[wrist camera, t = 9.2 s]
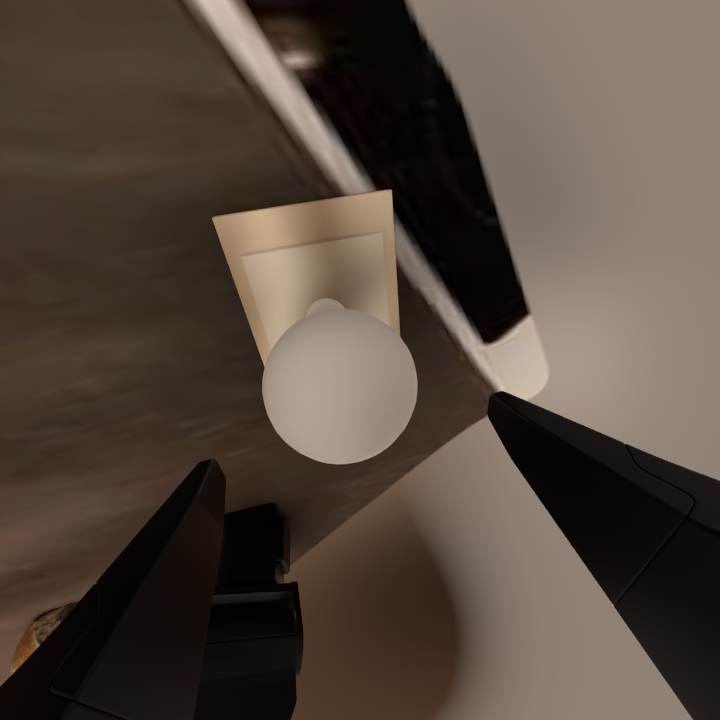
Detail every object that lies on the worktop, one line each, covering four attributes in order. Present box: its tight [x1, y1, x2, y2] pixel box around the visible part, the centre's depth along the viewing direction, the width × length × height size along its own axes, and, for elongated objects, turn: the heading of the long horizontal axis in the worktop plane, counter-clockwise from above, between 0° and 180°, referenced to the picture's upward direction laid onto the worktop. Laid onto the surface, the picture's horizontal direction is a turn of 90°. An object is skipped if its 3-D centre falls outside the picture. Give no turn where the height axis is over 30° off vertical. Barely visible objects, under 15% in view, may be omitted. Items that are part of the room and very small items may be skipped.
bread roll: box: [10, 604, 77, 676], centre depth 33 cm, size 10×10×8 cm
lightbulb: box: [262, 298, 417, 464], centre depth 14 cm, size 6×6×11 cm
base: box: [212, 190, 400, 367], centre depth 20 cm, size 10×12×2 cm
